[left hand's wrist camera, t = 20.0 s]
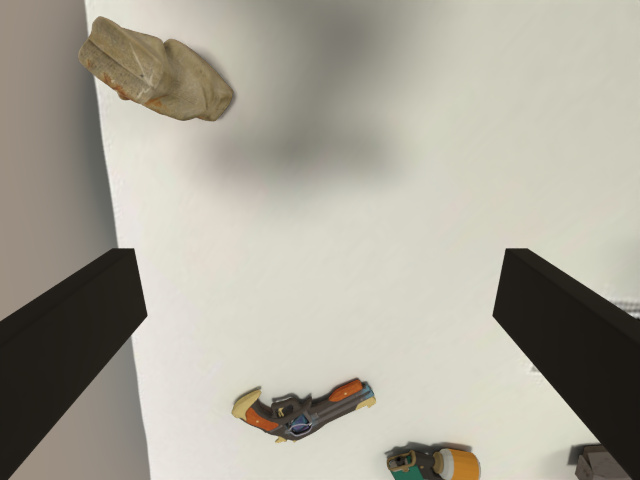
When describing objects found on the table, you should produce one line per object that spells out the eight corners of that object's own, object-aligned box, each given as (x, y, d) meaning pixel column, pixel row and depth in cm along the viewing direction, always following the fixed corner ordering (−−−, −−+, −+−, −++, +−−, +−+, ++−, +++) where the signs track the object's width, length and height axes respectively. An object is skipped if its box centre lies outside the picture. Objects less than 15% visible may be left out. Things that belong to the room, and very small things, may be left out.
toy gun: (225, 413, 48) (263, 465, 50) (345, 351, 46) (379, 407, 48) (230, 400, 51) (266, 450, 53) (343, 341, 49) (376, 395, 51)
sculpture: (191, 36, 34) (102, -18, 20) (247, 90, 36) (201, 75, 22) (158, 82, 36) (53, 62, 22) (213, 132, 38) (150, 144, 23)
